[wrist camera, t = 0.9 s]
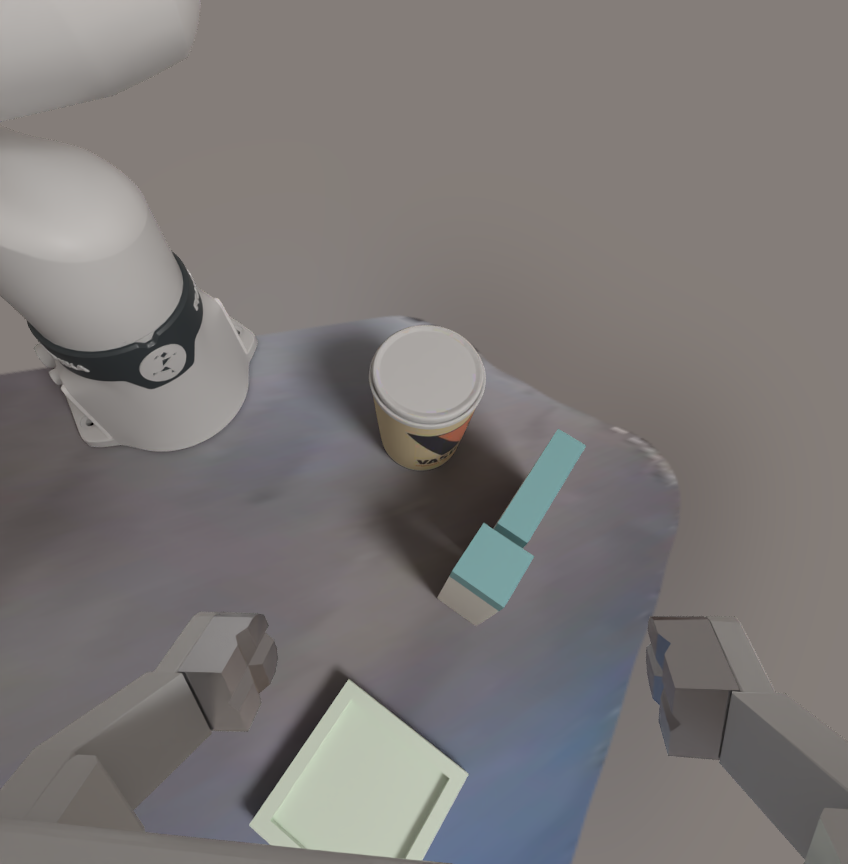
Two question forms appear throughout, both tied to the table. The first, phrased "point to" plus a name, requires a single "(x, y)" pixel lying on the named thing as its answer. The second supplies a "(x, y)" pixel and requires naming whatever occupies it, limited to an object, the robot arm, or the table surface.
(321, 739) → the tray
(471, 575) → the white teal-topped block
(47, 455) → the table surface
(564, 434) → the teal and white box
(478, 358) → the coffee cup
